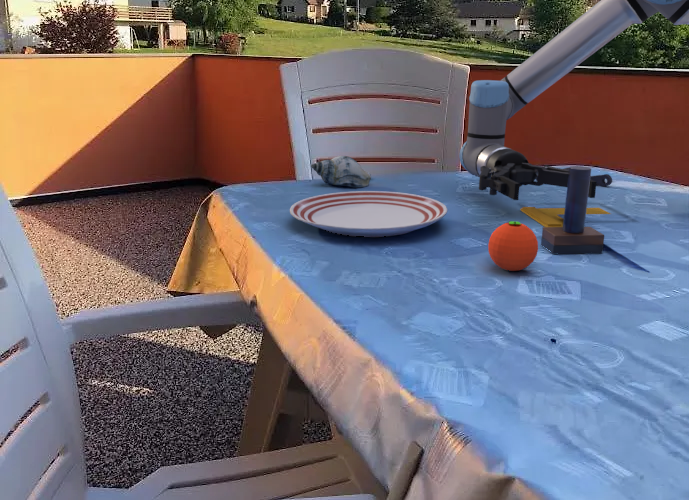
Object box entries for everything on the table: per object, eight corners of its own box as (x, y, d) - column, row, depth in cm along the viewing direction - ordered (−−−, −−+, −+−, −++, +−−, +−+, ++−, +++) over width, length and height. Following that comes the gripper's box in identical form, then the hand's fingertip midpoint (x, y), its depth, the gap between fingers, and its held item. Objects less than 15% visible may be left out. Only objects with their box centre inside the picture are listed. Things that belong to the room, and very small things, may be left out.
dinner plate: (297, 248, 110) (297, 227, 109) (284, 207, 136) (283, 190, 135) (467, 243, 114) (469, 223, 113) (423, 204, 140) (423, 188, 139)
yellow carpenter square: (599, 209, 138) (599, 205, 138) (634, 228, 125) (635, 223, 125) (520, 210, 137) (520, 206, 136) (547, 229, 123) (548, 224, 123)
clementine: (483, 259, 106) (487, 213, 104) (530, 261, 105) (535, 215, 103) (488, 276, 98) (492, 227, 96) (539, 278, 98) (544, 229, 96)
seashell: (364, 196, 154) (312, 190, 157) (373, 176, 159) (322, 171, 162) (361, 171, 149) (308, 166, 153) (371, 152, 155) (319, 148, 158)
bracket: (594, 191, 155) (596, 178, 154) (535, 180, 165) (536, 169, 165) (624, 183, 165) (626, 171, 164) (566, 174, 175) (568, 162, 174)
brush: (588, 244, 115) (597, 164, 111) (602, 253, 110) (613, 170, 106) (540, 245, 114) (548, 165, 110) (552, 254, 109) (561, 170, 105)
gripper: (561, 185, 139) (621, 211, 119) (440, 188, 135) (481, 215, 115) (565, 147, 137) (627, 166, 117) (442, 149, 132) (485, 169, 112)
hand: (555, 190), depth 116 cm, fingers open, 13 cm apart
